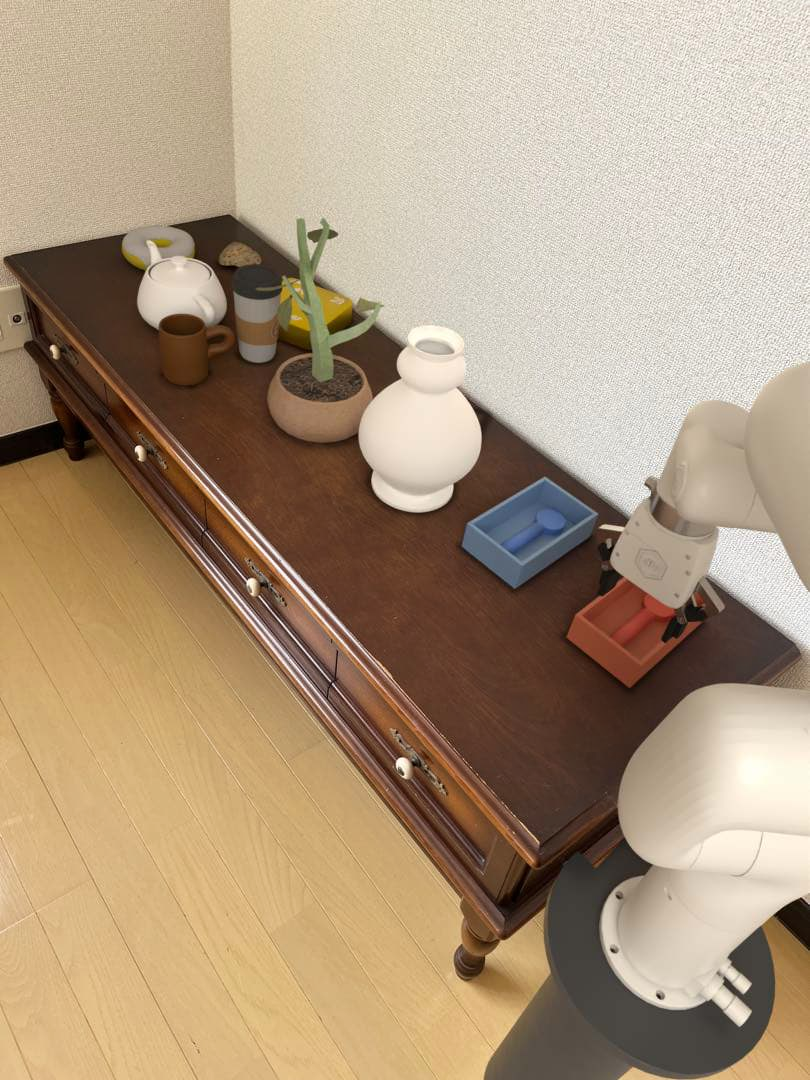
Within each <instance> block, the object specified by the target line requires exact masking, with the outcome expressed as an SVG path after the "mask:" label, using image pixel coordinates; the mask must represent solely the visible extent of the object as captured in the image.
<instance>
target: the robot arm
mask: <svg viewBox="0 0 810 1080" xmlns="http://www.w3.org/2000/svg"><path fill="white" fill-rule="evenodd" d="M643 485H644V486H645V487H646V488H647V489H648V490H649V491H650V495H649V496H648V497H647V496H646V497H645V498H643V499H642V501H641V502H640V503H639V505H638V506H637V507H636V508H635V510H634V511H633V513H632V515H631V516H630V518H629V519H628V521H627V523H626V524H625V526H620V525H619V526H618V525H613V524H606V523H604V524H602V525H600V526H599V527H597V528H596V530H595V531H596V539H597V543H598V545H597V551H598V553H599V556H600V559H601V560H602V562H601V564H600V565H601V568H602V573H601V575H600V577H599V580H598V584H599V588H598V590H597V593H596V595H597V596H598V597H599V596H604V595H605V594H607V593H608V592H609V591H611V590H612V589H613V588H615V586H616V584H617V582H618V581H619V580H620V577H621V576H622V577H625V578H627V579H628V580H629V581H631V582H632V583H634V584H635V585H637V586H638V587H639V588H641V589H642V590H644V591H645V592H647V593H648V594H649V595H651V596H652V597H654V598H655V599H657V600H658V601H660V602H661V603H663V604H664V605H666V606H668V607H670V608H674V611H675V616H674V617H673V618H672V619H671V620H670V622H669V624H668V626H667V628H666V630H665V632H664V634H663V636H662V638H661V639H662V642H664V643H667V642H668V641H669V640H670V639H671V638H672V637H674V638H676V639H677V638H679V637H680V636H681V635H682V633H683V632H684V630H685V628H686V626H687V624H688V622H701V621H702V622H704V621H705V620H707V619H710V618H713V617H716V616H717V615H720V613H722V611H723V610H725V608H726V606H725V604H724V602H723V601H722V600H721V598H720V597H719V595H718V594H717V593H716V591H715V590H714V588H713V587H712V585H711V584H710V583H709V581H708V579H707V578H706V577H707V575H708V572H709V569H710V567H711V564H712V562H713V559H714V556H715V552H716V548H717V544H718V540H719V534H720V529H719V528H718V527H721V528H727V529H740V530H747V531H754V532H755V531H756V532H763V533H769V534H776V535H777V536H778V537H779V539H780V542H781V544H782V546H783V548H784V551H785V552H786V554H787V556H788V559H789V560H790V562H791V564H792V567H793V569H794V571H795V572H796V574H797V576H798V578H799V579H800V581H801V582H802V584H803V586H804V587H805V589H806V590H807V592H809V593H810V361H807V362H802V363H798V364H795V365H793V366H790V367H788V368H786V369H784V370H783V371H781V372H780V373H778V374H776V375H775V376H773V378H772V379H770V381H768V382H767V383H766V384H765V385H764V386H763V388H762V389H761V390H760V391H759V393H758V395H757V396H756V398H755V399H754V402H753V404H752V405H751V407H750V410H749V411H748V410H747V409H745V408H743V407H742V406H739V405H738V404H735V403H732V402H728V401H726V400H725V401H724V400H719V399H709V400H703V401H700V402H698V403H696V404H694V405H693V406H692V407H691V408H690V409H689V410H688V411H687V413H686V415H685V417H684V419H683V421H682V423H681V426H680V429H679V431H678V433H677V436H676V437H675V441H674V443H673V445H672V448H671V450H670V452H669V455H668V457H667V459H666V461H665V464H664V467H663V469H662V472H661V474H660V476H659V477H654V476H653V475H649V476H647V478H646V479H645V481H644V483H643ZM612 540H616V541H617V542H616V543H615V545H614V542H613V541H612ZM696 593H697V594H698V595H699V596H700V598H701V599H702V601H703V602H704V604H705V606H697V604H696V601H695V598H694V594H696ZM684 604H685V605H684ZM702 622H701V623H702ZM618 790H619V791H618V796H617V815H618V820H619V821H618V822H619V826H620V829H621V832H622V834H623V836H624V837H625V838H626V840H627V842H628V844H629V845H630V846H631V848H632V849H633V850H634V851H635V853H636V854H638V855H639V856H640V857H641V858H642V859H644V860H645V861H647V862H649V863H651V864H653V865H652V867H651V868H650V869H649V871H648V872H647V873H646V875H645V876H638V877H633V878H630V879H628V880H626V881H624V882H622V883H621V884H619V885H618V886H617V887H616V888H615V889H614V890H613V891H612V892H611V893H610V895H609V896H608V898H607V899H606V901H605V903H604V905H603V908H602V911H601V914H600V922H599V932H600V940H601V944H602V948H603V952H604V954H605V956H606V959H607V961H608V963H609V965H610V967H611V968H612V970H613V971H614V973H615V975H616V976H617V977H618V978H619V979H620V981H621V982H622V983H623V984H624V985H625V986H626V987H627V988H628V989H629V990H630V991H631V992H633V993H634V994H635V995H636V996H638V997H639V998H641V999H643V1000H644V1001H646V1002H647V1003H650V1004H652V1005H655V1006H657V1007H660V1008H664V1009H669V1010H686V1009H690V1008H694V1007H696V1006H698V1005H700V1004H702V1003H704V1002H705V1001H706V1000H707V1001H709V1000H710V999H712V1000H713V1001H714V1002H715V1003H716V1004H717V1005H718V1006H719V1007H720V1008H721V1009H722V1010H723V1012H724V1013H725V1014H726V1015H727V1016H728V1017H729V1018H730V1019H731V1020H732V1021H733V1022H734V1023H735V1024H736V1025H738V1026H739V1027H740V1026H741V1025H742V1024H743V1023H744V1022H745V1021H746V1020H747V1019H748V1017H749V1016H750V1014H751V1012H752V1010H751V1009H750V1008H749V1007H747V1006H746V1005H745V1004H744V1003H743V1002H742V1001H741V1000H740V999H739V998H738V997H737V996H736V995H735V996H734V995H733V994H732V993H731V992H730V991H729V990H728V989H727V988H726V987H725V986H724V985H723V983H724V980H723V978H724V976H725V977H726V978H727V979H728V980H729V981H730V982H731V983H732V985H733V986H734V987H735V988H736V989H737V990H738V991H739V992H741V993H742V994H744V993H745V992H746V991H747V990H748V989H749V987H750V986H751V984H752V983H751V982H750V981H749V980H748V979H747V978H746V977H745V976H744V975H742V974H741V973H739V972H738V971H737V970H736V969H735V968H734V967H733V966H732V965H731V962H732V961H730V960H729V959H728V958H727V957H728V956H729V954H730V953H731V952H732V951H733V950H734V949H735V948H736V947H737V946H739V945H740V944H741V943H742V942H743V941H744V940H745V939H746V938H747V937H748V936H749V935H751V934H752V933H753V932H754V931H755V930H756V929H757V928H758V927H760V926H762V925H764V924H765V923H766V922H767V921H768V920H769V919H770V918H771V917H772V916H774V915H775V914H776V913H777V912H778V911H780V910H781V909H782V908H783V907H785V906H787V905H789V904H790V903H792V902H794V901H797V900H798V899H800V898H803V897H806V896H807V895H809V894H810V690H809V689H794V688H787V687H777V686H767V685H758V684H749V683H737V682H736V683H735V682H726V683H723V682H721V683H715V684H709V685H705V686H703V687H700V688H697V689H695V690H694V691H691V692H690V693H688V694H687V695H686V696H685V697H684V698H683V699H682V700H681V701H680V702H678V704H676V706H675V707H674V708H673V709H672V710H671V711H670V712H669V713H668V714H667V716H666V717H665V718H664V719H663V720H662V721H661V722H660V723H659V724H658V725H657V726H656V727H655V728H654V730H653V731H652V732H650V734H649V735H648V736H647V737H646V738H645V739H644V740H643V741H642V742H641V744H640V745H639V746H638V747H637V748H636V750H635V751H634V753H633V754H632V756H631V758H630V759H629V760H628V763H627V765H626V767H625V769H624V772H623V775H622V777H621V781H620V785H619V789H618ZM616 897H618V898H619V899H617V898H616ZM611 950H613V952H614V953H612V952H611ZM656 995H658V996H659V998H660V999H658V998H657V996H656Z"/></svg>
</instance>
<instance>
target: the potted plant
mask: <svg viewBox="0 0 810 1080" xmlns="http://www.w3.org/2000/svg"><path fill="white" fill-rule="evenodd" d="M319 224H320V225H321V226H322V228H318V229H312V230H311V231H308V232H307V228H306V219H304V218H302V217H301V218H296V237H297V238H296V239H297V240H296V241H297V249H298V256H299V260H298V261H299V266H298V269H299V270H298V272H299V279H298V280H297V281H299V280H300V282H301V285H302V290H303V295H304V300H303V299H302V297H301V296H300V295H299V294H298V293H297V292H296V291H295V289H294V288H293V286H292V284H293V283H295V282H297V281H293V282H289V280H288V277H287V276H286V275H283V276H281V279H282V281H283V280H284V282H285V284H284V285H280V286H277V287H269V288H260V287H257V288H256V290H259V291H272V290H275V289H279V288H282V287H285V286H287V288H288V290H289V292H290V293H291V295H290V296H289V297H288V298H287V299H285V300H284V301H283V302H282V303H281V304H280V306H279V308H278V310H277V318H278V322H279V324H280V325H281V327H282V328H283V329H284V330H285V331H286V332H287V334H288V326H289V323H290V319H291V316H292V301H291V299H292V297H293V298H294V300H295V302H296V303H297V305H298V306H299V308H300V309H301V311H302V312H303V313H304V314H305V315H306V317H307V319H308V321H309V326H310V339H311V345H312V350H311V353H310V352H309V353H304V354H298V355H295V356H293V357H290V358H288V359H287V360H285V361H284V362H283V363H281V364H280V365H279V367H278V368H277V370H276V371H275V374H274V375H273V378H272V379H271V381H270V383H269V386H268V391H267V396H266V400H267V406H268V410H269V414H270V416H271V417H272V419H273V421H274V422H275V423H276V425H277V426H278V427H279V428H280V429H281V430H282V431H284V432H285V433H287V434H288V435H290V436H292V437H294V438H296V439H298V440H302V441H306V442H310V443H322V444H323V443H324V444H325V443H335V442H340V441H344V440H347V439H348V438H349V439H350V438H351V437H353V436H355V435H356V434H357V435H358V434H359V426H360V422H361V419H362V416H363V414H364V412H365V410H366V408H367V407H368V405H369V404H370V403H371V401H372V400H373V399H374V397H373V392H372V389H371V386H370V383H369V381H368V378H367V376H366V374H365V371H364V370H363V369H362V368H361V367H360V366H359V365H358V364H356V363H355V362H353V361H352V360H349V359H347V358H345V357H343V356H339V355H335V354H333V351H332V349H331V348H333V347H335V346H337V345H339V344H342V343H345V342H348V341H350V340H353V339H356V338H357V337H359V336H361V335H362V334H364V333H366V332H367V331H368V330H369V329H370V328H371V327H372V325H374V324H375V322H376V320H377V317H378V316H379V313H380V310H381V308H384V307H385V306H386V305H384V304H382V302H381V301H372V300H371V301H370V300H368V299H365V298H362V297H359V299H358V301H357V303H356V307H355V310H354V312H355V313H364V312H369V311H373V312H372V313H370V315H369V316H368V317H367V318H366V319H365V320H363V321H362V322H360V323H358V324H356V325H354V326H352V327H350V328H347V329H346V328H345V329H343V330H341V331H340V332H337V333H335V334H333V335H329V331H328V329H327V325H326V322H325V318H324V315H323V312H322V303H321V301H320V298H319V296H318V294H317V291H316V288H315V286H316V285H315V282H314V278H315V274H316V271H317V269H318V266H319V263H320V260H321V258H322V254H323V251H324V248H325V246H326V243H327V240H333V239H335V238H337V237H339V233H338V232H337V231H336V230H333V229H331V228H330V224H329V223H328V221H327V220H326V218H323V217H322V218H321V220H320V222H319ZM308 240H310V241H312V243H313V244H315V243H317V244H316V246H315V249H314V252H313V253H312V256H310V251H309V246H308Z"/></svg>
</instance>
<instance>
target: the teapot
mask: <svg viewBox="0 0 810 1080" xmlns="http://www.w3.org/2000/svg"><path fill="white" fill-rule="evenodd" d="M146 243H147V246H148V248H149V251H150V257H151V265H150V266H149V267H148V268H147V270H146V271H144V274H143V276H142V279H141V282H140V284H139V288H138V291H137V292H138V293H137V297H136V298H137V299H136V305H137V309H138V312H139V314H140V316H141V317H142V319H143V320H144V321H145V322H146V323H147V324H148V325H149V326H151V327H153V328H154V329H156V330H157V331H159V323H160V321H161V320H162V319H163V318H165V317H167V316H169V315H173V314H191V315H194V316H197V317H199V318H201V319H202V320H203V321H204V323H205V325H206V329H208V328H211V327H214V326H216V325H219V324H220V323H221V322H222V320H223V319H224V318H225V315H226V313H227V308H228V306H227V305H228V303H227V298H226V294H225V291H224V288H223V287H222V285H221V282H220V280H219V278H218V276H217V275H216V273H215V271H214V269H212V267H211V266H210V265H209V264H208V263H205V262H203V261H201V260H198V259H195V258H193V259H191V258H186V257H184V256H174V257H172V258H166V259H162V257H161V255H160V253H159V250H158V248H157V246H156V245H155V243H154V242H152V241H150V240H148V241H146Z"/></svg>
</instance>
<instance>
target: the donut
mask: <svg viewBox="0 0 810 1080" xmlns="http://www.w3.org/2000/svg"><path fill="white" fill-rule="evenodd" d="M148 240H150V241H152V242H154V243H155V245H156V246H157V248H158V250H159V253H160V255H161V257H162V259H166V258H172V257H174V256H184V257H186V258H191V259H195V255H196V254H195V253H196V248H195V246H196V245H195V241H194V239H193V236H192V235H190V234H189V233H188V232H186V231H185V230H182V229H179V228H176V227H172V226H168V225H147V226H146V225H145V226H140V227H138V228H135V229H133V230H131V231H130V232H128V233H127V234H126V235H124V237H123V240H122V242H121V244H122V245H121V252H122V255H123V257H124V258H125V259H126V260H127V262H128V263H130V264H131V265H132V266H134V267H136V268H137V269H139V270H142V271H144V272H146V270H147V268H148V267H149V266H150V265H151V257H150V251H149V248H148V246H147V243H146V241H148Z"/></svg>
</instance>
